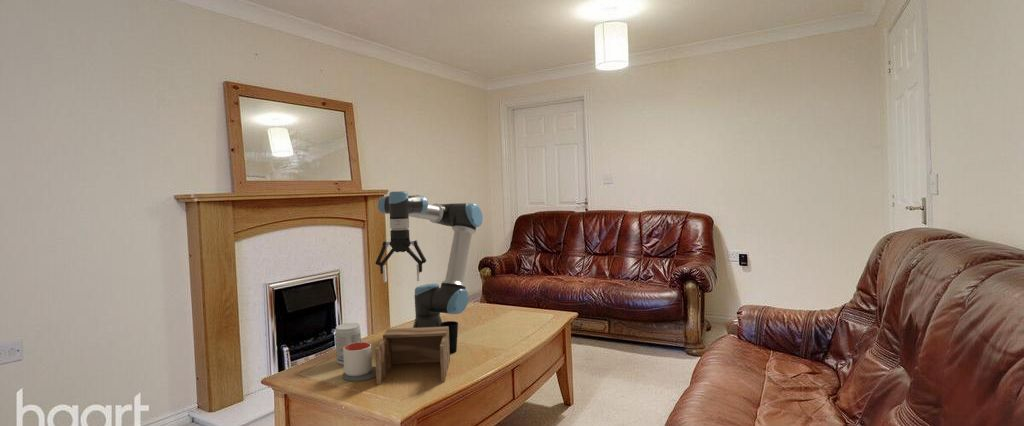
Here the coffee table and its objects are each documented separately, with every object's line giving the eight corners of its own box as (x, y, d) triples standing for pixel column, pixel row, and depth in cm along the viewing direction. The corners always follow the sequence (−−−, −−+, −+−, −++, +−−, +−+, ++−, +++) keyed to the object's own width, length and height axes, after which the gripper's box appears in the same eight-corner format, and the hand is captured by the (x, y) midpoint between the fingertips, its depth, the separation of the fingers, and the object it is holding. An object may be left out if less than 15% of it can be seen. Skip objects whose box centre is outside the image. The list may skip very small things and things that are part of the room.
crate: (389, 363, 195) (388, 328, 195) (450, 360, 196) (448, 325, 195) (376, 384, 173) (374, 345, 173) (444, 381, 174) (443, 343, 173)
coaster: (348, 368, 191) (348, 366, 191) (385, 366, 191) (384, 365, 191) (337, 382, 177) (337, 380, 177) (376, 380, 177) (376, 379, 177)
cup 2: (455, 354, 203) (454, 326, 202) (438, 354, 204) (437, 325, 203) (461, 348, 210) (460, 321, 209) (444, 348, 212) (443, 320, 211)
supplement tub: (360, 356, 205) (358, 321, 204) (363, 362, 196) (362, 326, 196) (335, 360, 201) (334, 324, 200) (338, 367, 192) (336, 330, 192)
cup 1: (348, 368, 189) (347, 342, 188) (374, 367, 189) (373, 341, 189) (341, 378, 179) (339, 351, 178) (368, 376, 179) (367, 350, 179)
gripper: (366, 230, 195) (368, 283, 196) (429, 228, 196) (431, 281, 197) (371, 229, 202) (373, 280, 203) (431, 227, 203) (433, 278, 204)
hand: (401, 281), depth 200 cm, fingers open, 13 cm apart
